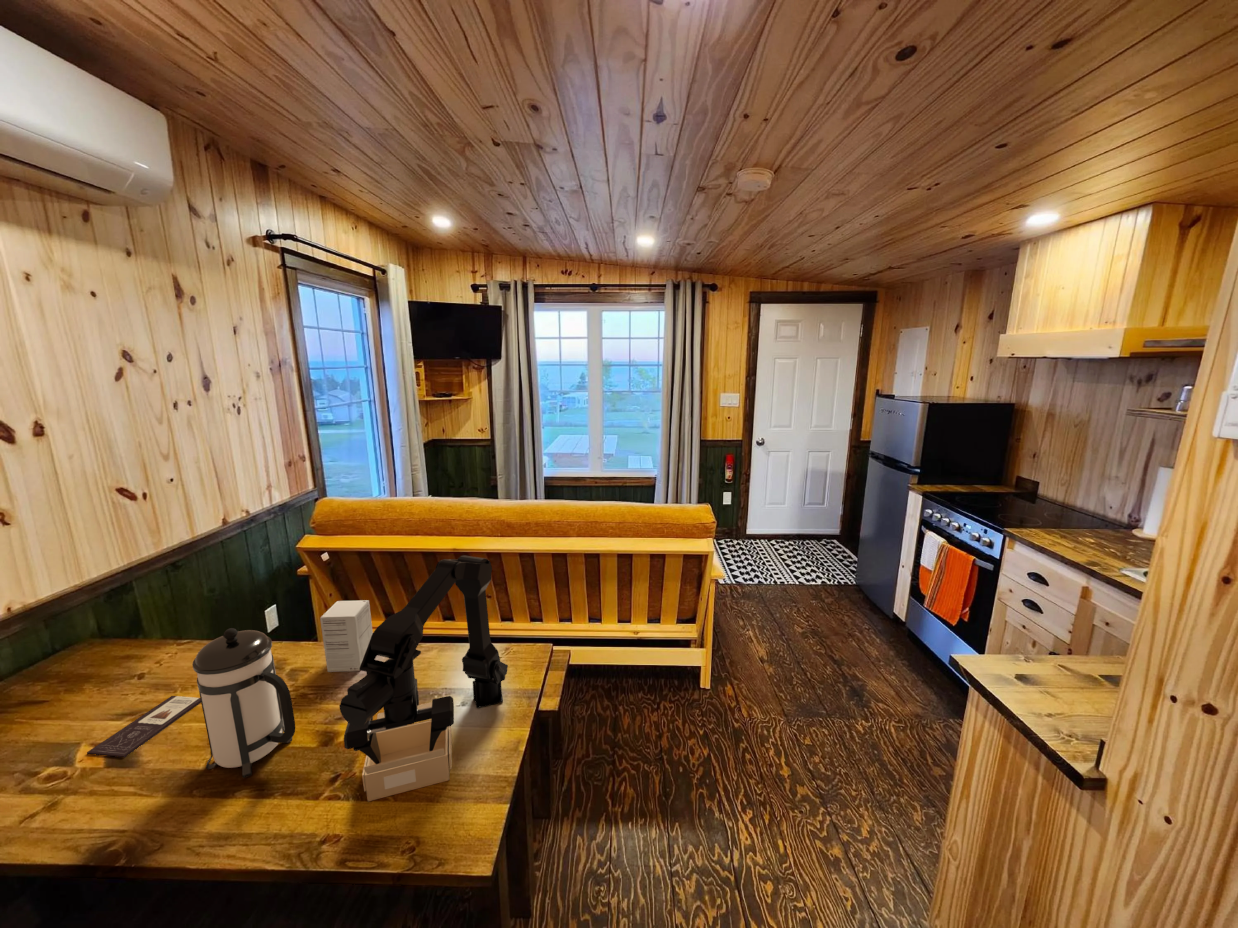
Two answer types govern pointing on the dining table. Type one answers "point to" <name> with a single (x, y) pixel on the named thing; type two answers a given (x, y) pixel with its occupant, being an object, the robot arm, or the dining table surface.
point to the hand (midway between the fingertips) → (405, 757)
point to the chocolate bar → (145, 727)
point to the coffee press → (242, 699)
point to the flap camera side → (404, 761)
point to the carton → (410, 775)
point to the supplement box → (346, 634)
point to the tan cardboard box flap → (426, 705)
